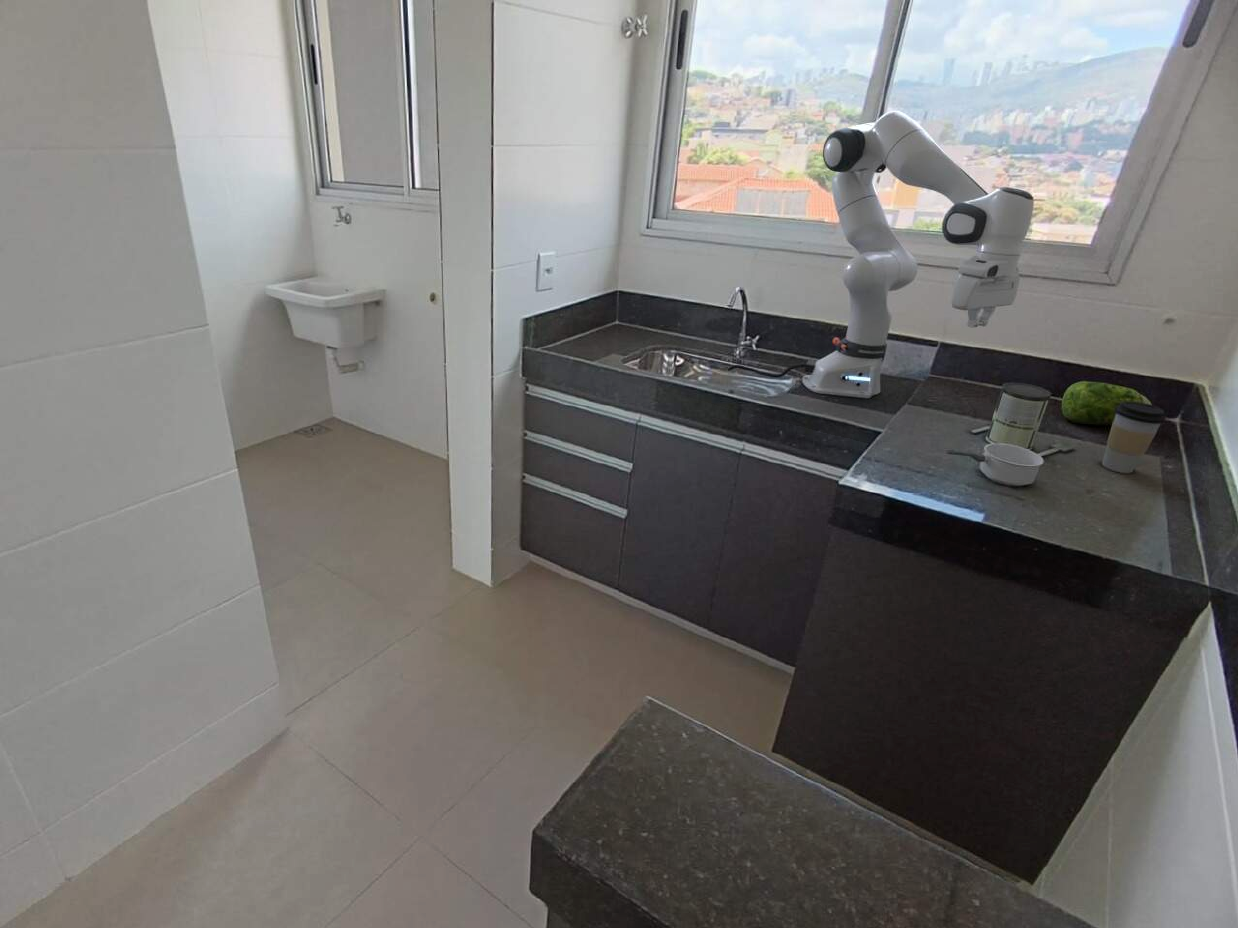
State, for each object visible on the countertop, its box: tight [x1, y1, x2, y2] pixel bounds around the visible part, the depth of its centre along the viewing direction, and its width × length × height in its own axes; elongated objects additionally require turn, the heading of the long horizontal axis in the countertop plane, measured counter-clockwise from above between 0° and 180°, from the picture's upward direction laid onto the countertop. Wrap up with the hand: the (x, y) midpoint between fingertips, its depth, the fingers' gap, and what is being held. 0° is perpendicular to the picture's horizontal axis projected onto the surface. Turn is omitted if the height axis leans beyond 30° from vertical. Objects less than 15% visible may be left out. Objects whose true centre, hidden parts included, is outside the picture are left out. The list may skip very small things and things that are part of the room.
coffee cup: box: [1102, 401, 1167, 474], centre depth 149 cm, size 9×9×15 cm
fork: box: [969, 425, 990, 435], centre depth 170 cm, size 15×2×1 cm, turn 122°
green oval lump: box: [1061, 380, 1152, 426], centre depth 176 cm, size 12×21×11 cm, turn 84°
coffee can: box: [985, 382, 1052, 451], centre depth 159 cm, size 10×10×14 cm
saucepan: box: [945, 443, 1044, 487], centre depth 143 cm, size 12×20×6 cm, turn 89°
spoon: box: [1037, 442, 1075, 458], centre depth 158 cm, size 14×3×1 cm, turn 122°
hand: (976, 326), depth 155 cm, fingers closed
